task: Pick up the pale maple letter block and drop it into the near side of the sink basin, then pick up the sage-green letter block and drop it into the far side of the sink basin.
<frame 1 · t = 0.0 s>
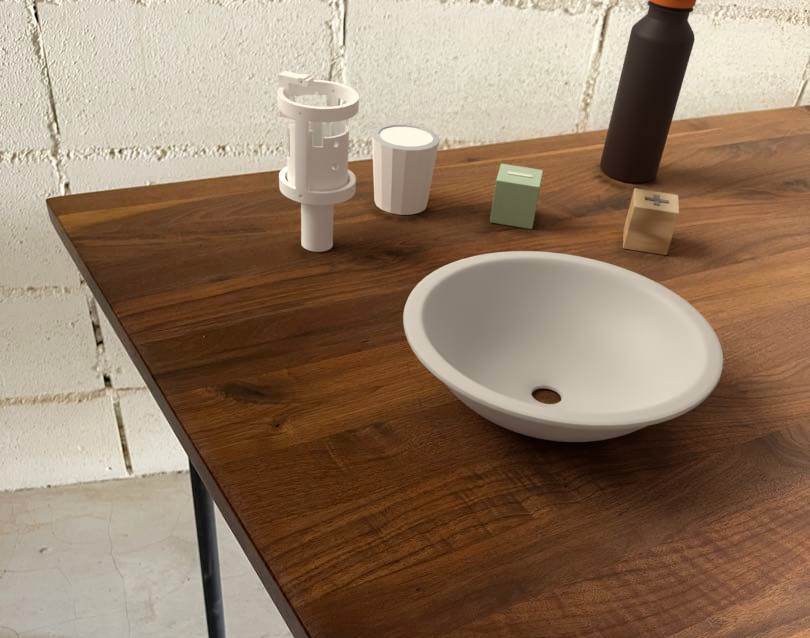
maple block: (644, 242, 92), on the table
sink basin: (545, 400, 71), on the table
bottle: (627, 173, 105), on the table
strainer: (317, 246, 86), on the table
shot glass: (400, 204, 94), on the table
sage block: (512, 217, 94), on the table
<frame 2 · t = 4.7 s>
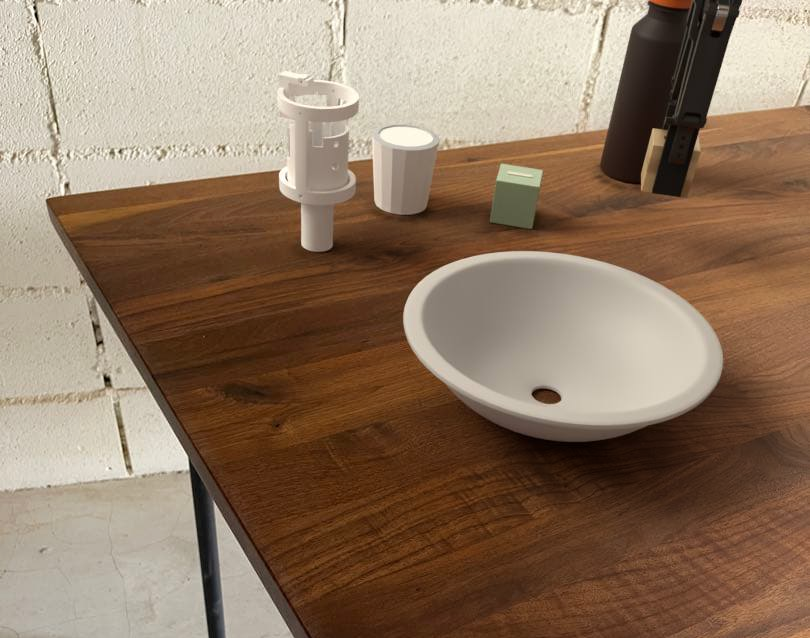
hand: (665, 182, 88), 6 cm above the table, tool pointing down, fingers closed on maple block, 4 cm apart
maple block: (663, 185, 88), point 6 cm above the table, touching gripper
everything else where it was.
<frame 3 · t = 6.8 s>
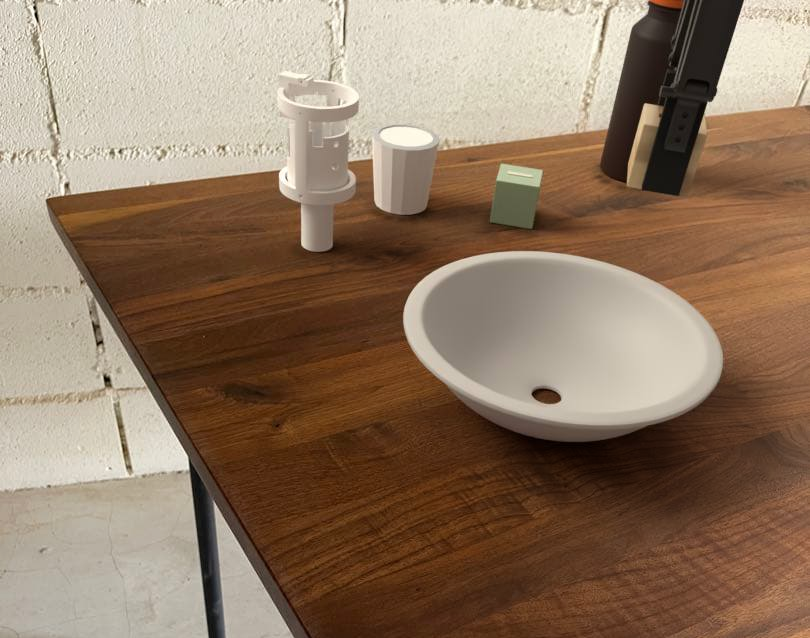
hand: (660, 176, 66), 15 cm above the table, tool pointing down, fingers closed on maple block, 4 cm apart
maple block: (656, 180, 67), point 15 cm above the table, touching gripper
everything else where it was.
when the fingers open (7 cm above the table, at t = 9.2 s): maple block stays where it is, resting on sink basin.
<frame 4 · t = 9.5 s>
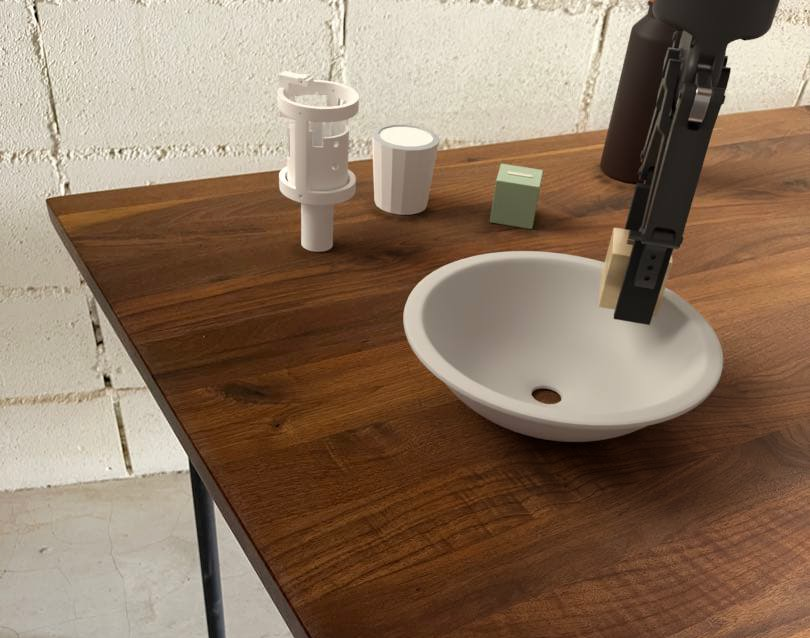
hand: (632, 290, 70), 7 cm above the table, tool pointing down, fingers open, 8 cm apart
maple block: (627, 297, 70), point 7 cm above the table, touching sink basin
sink basin: (545, 400, 71), on the table, touching maple block
everything else where it was.
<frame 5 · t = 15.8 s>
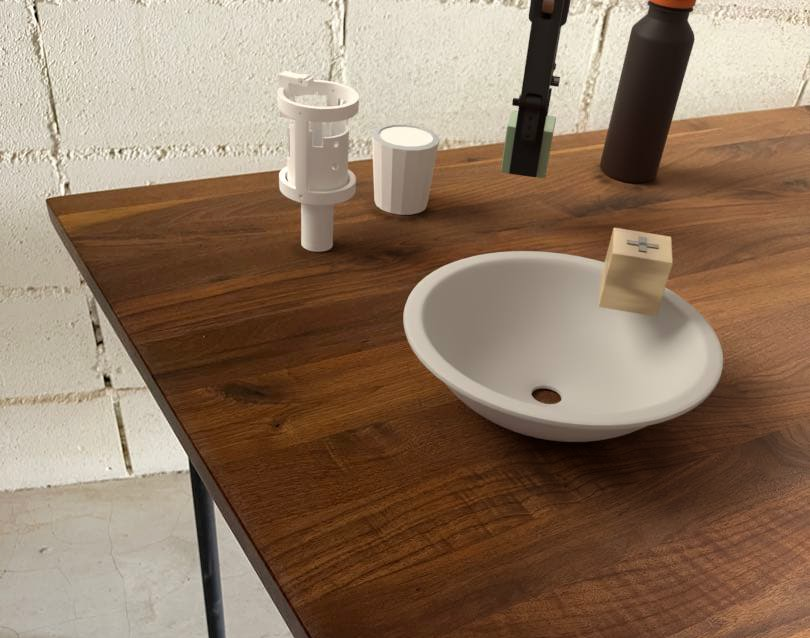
hand: (525, 163, 90), 6 cm above the table, tool pointing down, fingers closed on sage block, 4 cm apart
sage block: (524, 167, 90), point 5 cm above the table, touching gripper
everything else where it was.
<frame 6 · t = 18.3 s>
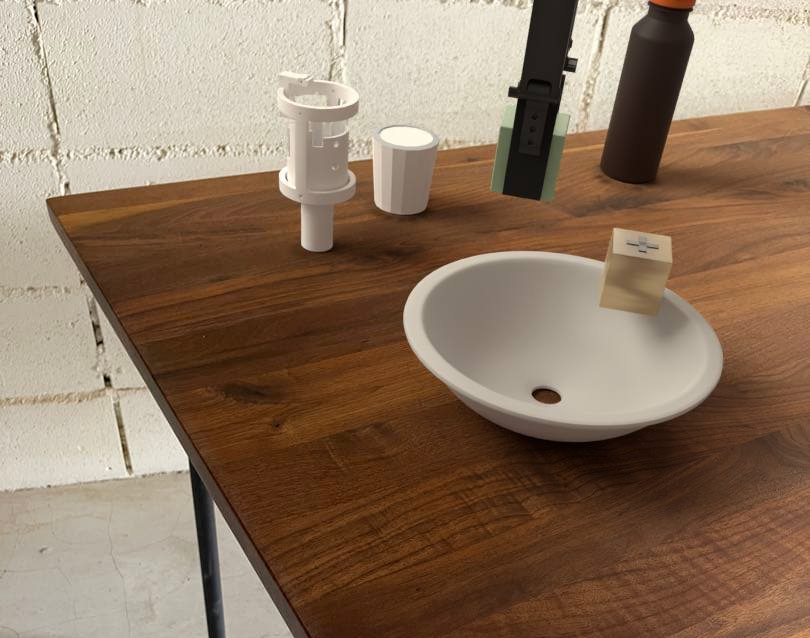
hand: (525, 180, 64), 15 cm above the table, tool pointing down, fingers closed on sage block, 4 cm apart
sage block: (524, 184, 64), point 15 cm above the table, touching gripper
everything else where it was.
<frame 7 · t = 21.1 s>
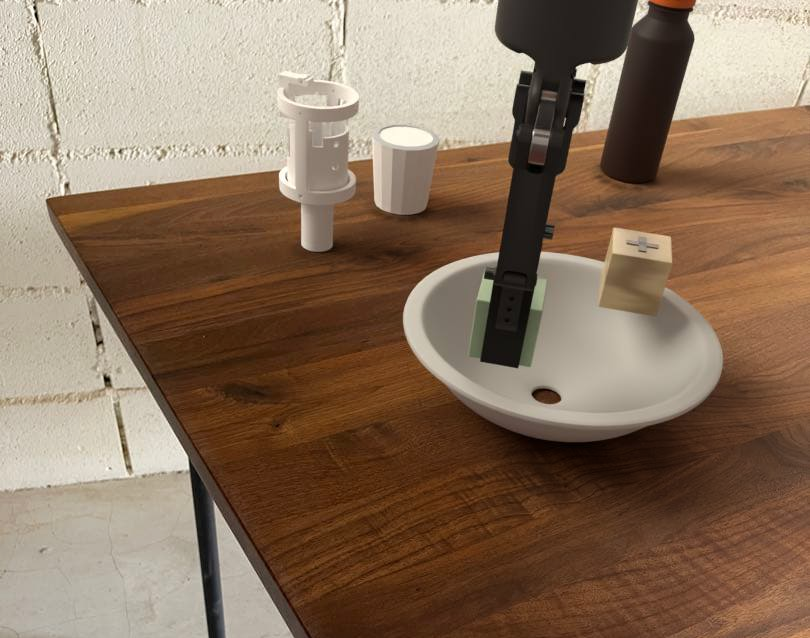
hand: (503, 342, 64), 7 cm above the table, tool pointing down, fingers closed on sage block, 4 cm apart
sink basin: (545, 400, 71), on the table, touching gripper, maple block, sage block
sage block: (502, 345, 64), point 7 cm above the table, touching gripper, sink basin
everything else where it was.
when the fingers open (7 cm above the table, at t = 21.1 s): sage block stays where it is, resting on sink basin.
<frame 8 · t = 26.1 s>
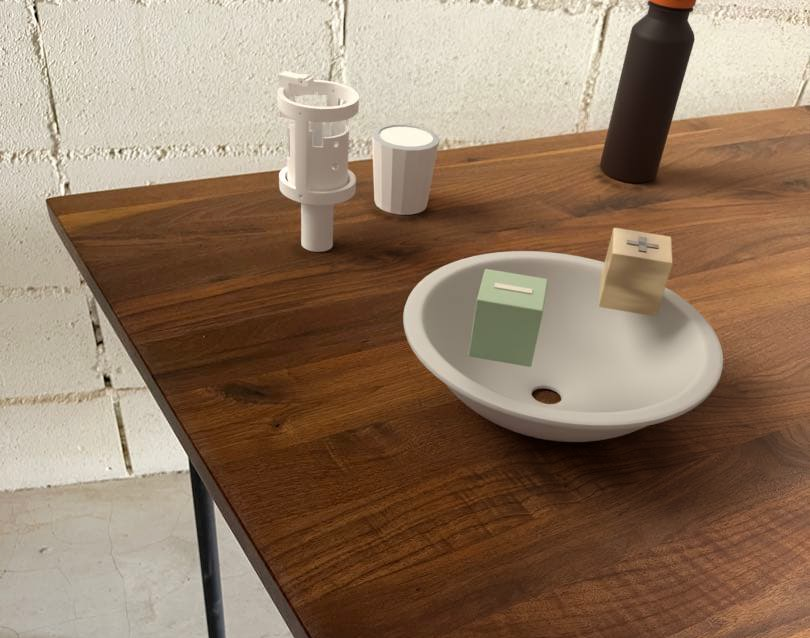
sink basin: (545, 400, 71), on the table, touching maple block, sage block
sage block: (502, 345, 64), point 7 cm above the table, touching sink basin
everything else where it was.
at the end: maple block inside the target area in the sink basin (7.7 cm from its centre), point 6.8 cm above the sink basin's base; sage block inside the target area in the sink basin (5.7 cm from its centre), point 6.8 cm above the sink basin's base; sink basin moved 0.2 cm from its start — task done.
